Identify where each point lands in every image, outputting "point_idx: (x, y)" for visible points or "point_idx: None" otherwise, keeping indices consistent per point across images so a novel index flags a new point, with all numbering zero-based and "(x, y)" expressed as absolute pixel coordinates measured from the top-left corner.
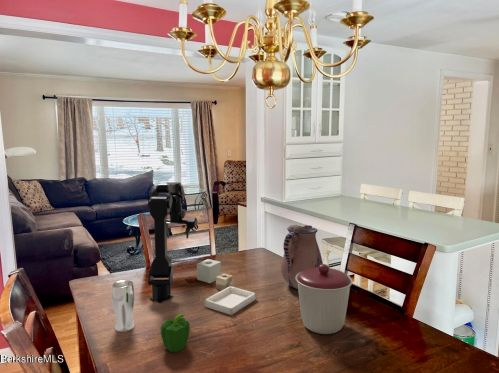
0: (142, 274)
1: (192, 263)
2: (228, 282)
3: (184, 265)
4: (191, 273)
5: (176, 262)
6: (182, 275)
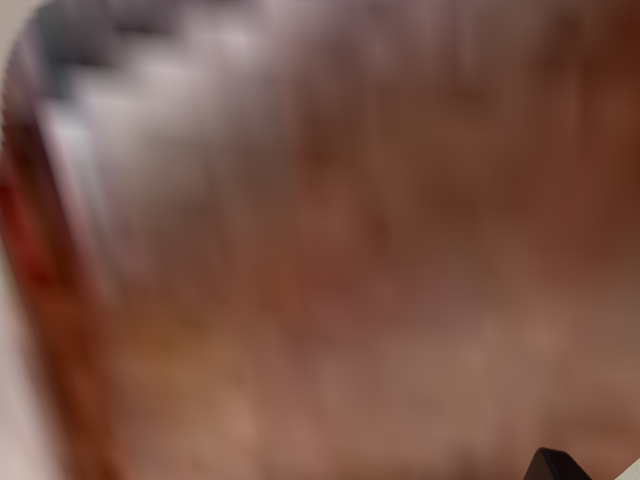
0: (5, 356)
1: (479, 66)
2: None
3: (383, 134)
4: (478, 392)
5: (271, 9)
6: (390, 431)
